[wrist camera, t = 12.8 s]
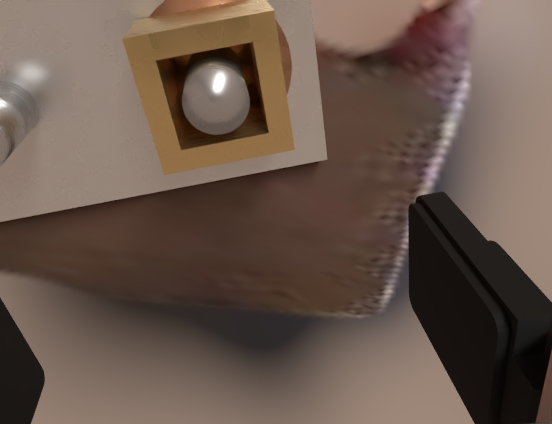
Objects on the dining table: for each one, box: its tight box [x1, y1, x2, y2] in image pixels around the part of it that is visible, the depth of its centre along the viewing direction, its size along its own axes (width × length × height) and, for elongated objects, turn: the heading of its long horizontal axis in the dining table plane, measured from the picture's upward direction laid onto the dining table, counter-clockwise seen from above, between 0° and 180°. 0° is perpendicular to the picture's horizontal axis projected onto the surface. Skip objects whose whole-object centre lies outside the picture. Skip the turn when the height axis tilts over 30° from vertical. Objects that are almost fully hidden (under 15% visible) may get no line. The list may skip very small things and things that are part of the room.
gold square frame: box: [122, 0, 295, 175], centre depth 26 cm, size 7×7×5 cm
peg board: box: [0, 0, 327, 222], centre depth 26 cm, size 14×24×8 cm, turn 99°
